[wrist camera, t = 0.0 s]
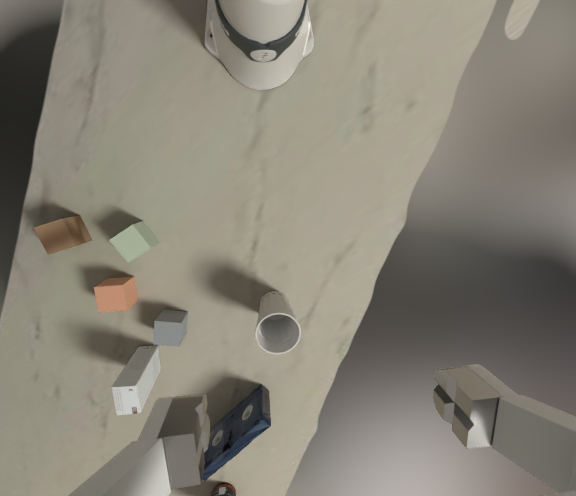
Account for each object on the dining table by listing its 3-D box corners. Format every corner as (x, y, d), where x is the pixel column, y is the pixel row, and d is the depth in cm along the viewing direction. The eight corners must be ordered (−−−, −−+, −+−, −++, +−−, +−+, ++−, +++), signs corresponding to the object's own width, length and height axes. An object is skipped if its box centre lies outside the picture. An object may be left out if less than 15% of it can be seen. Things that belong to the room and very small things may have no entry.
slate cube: (162, 309, 58) (154, 321, 53) (187, 311, 59) (181, 322, 54) (161, 331, 59) (153, 344, 55) (186, 333, 60) (180, 346, 55)
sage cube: (122, 234, 54) (108, 240, 49) (143, 220, 54) (132, 224, 49) (139, 255, 55) (128, 262, 51) (160, 242, 55) (151, 247, 50)
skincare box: (137, 345, 59) (108, 386, 48) (159, 344, 60) (136, 384, 48) (141, 371, 61) (113, 416, 49) (162, 370, 61) (140, 414, 50)
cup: (296, 316, 62) (305, 348, 50) (260, 325, 61) (261, 359, 50) (288, 283, 60) (295, 307, 48) (251, 292, 59) (250, 319, 48)
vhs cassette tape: (212, 438, 67) (204, 482, 57) (203, 431, 66) (194, 474, 56) (270, 391, 65) (273, 427, 56) (262, 383, 65) (263, 418, 55)
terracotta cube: (107, 278, 56) (93, 287, 51) (134, 276, 56) (122, 285, 51) (112, 301, 57) (99, 312, 52) (138, 299, 57) (127, 310, 52)
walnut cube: (53, 223, 52) (33, 227, 48) (80, 215, 53) (62, 218, 48) (67, 248, 54) (48, 254, 49) (92, 240, 54) (76, 245, 49)
